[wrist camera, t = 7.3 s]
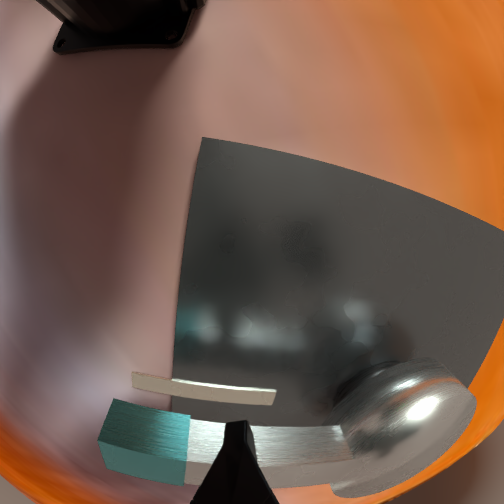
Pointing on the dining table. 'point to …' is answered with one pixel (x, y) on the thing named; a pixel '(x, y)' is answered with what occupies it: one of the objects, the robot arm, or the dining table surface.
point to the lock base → (319, 287)
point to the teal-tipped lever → (308, 436)
